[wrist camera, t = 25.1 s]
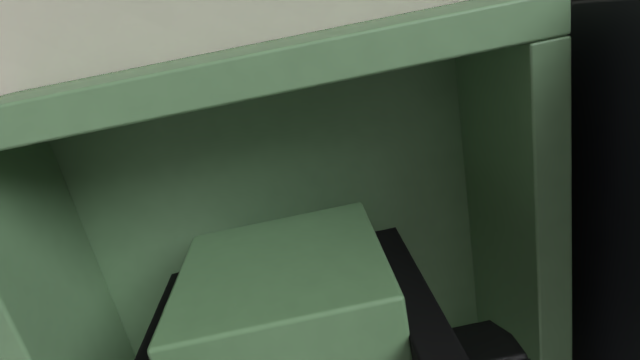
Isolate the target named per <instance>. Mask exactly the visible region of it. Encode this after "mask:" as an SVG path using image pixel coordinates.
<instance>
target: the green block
mask: <svg viewBox="0 0 640 360" xmlns="http://www.w3.org/2000/svg"><path fill="white" fill-rule="evenodd" d="M409 335H410V330H409V324H408V317H407V310H406V304H405V298H404V295H403V293H402V291H401V289H400V286H399V284H398V282H397V280H396V278H395V275H394V273H393V271H392V269H391V267H390V264H389V262H388V260H387V258H386V256H385V253H384V251H383V249H382V247H381V244H380V242H379V240H378V238H377V236H376V233H375V231H374V229H373V227H372V225H371V222H370V220H369V218H368V216H367V214H366V211H365V209H364V207H363V205H362V203H360V202H358V203H353V204H348V205H344V206H339V207H334V208H329V209H324V210H319V211H315V212H310V213H305V214H300V215H295V216H291V217H286V218H281V219H276V220H271V221H267V222H262V223H257V224H252V225H247V226H243V227H238V228H233V229H228V230H223V231H218V232H214V233H209V234H204V235H199V236H195V237H194V238H193V240H192V242H191V245H190V247H189V249H188V252H187V254H186V257H185V259H184V262H183V264H182V266H181V269H180V271H179V274H178V276H177V279H176V281H175V283H174V286H173V288H172V291H171V293H170V295H169V298H168V300H167V303H166V305H165V308H164V310H163V312H162V315H161V317H160V320H159V322H158V325H157V327H156V329H155V332H154V334H153V337H152V339H151V342H150V344H149V346H148V349H147V354H148V357H149V359H150V360H412V354H411V348H410V341H409Z"/></svg>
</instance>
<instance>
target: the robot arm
mask: <svg viewBox="0 0 640 360" xmlns="http://www.w3.org/2000/svg"><path fill="white" fill-rule="evenodd" d="M375 233H376V236H377V238H378V240H379V242H380V244H381V247H382V249H383V251H384V253H385V256H386V258H387V260H388V262H389V264H390V267H391V269H392V271H393V273H394V275H395V278H396V280H397V282H398V284H399V286H400V289H401V291H402V293H403V295H404V298H405V304H406V310H407V317H408V324H409V330H410V335H409V341H410V348H411V354H412V360H531V359H530V358H529V359H528V357H527V354H526V353H525V351H524V350H523V348H522V347H521V346H520V344H519V343H518V342H517V340H516V339H515V338H514V336H513V335H512V334H511V333H509V332H508V331H506V330H504V329H503V328H501V327H500V326H498V325H497V324H495V323H494V322H492V321H490V320H487V321H482V322H478V323H473V324H468V325H463V326H459V327H454V328H451V326H450V324H449V322H448V320H447V319H446V317H445V315H444V313H443V311H442V310H441V308H440V306H439V304H438V302H437V301H436V299H435V297H434V295H433V294H432V292H431V290H430V288H429V286H428V285H427V283H426V281H425V279H424V277H423V276H422V274H421V272H420V270H419V268H418V267H417V265H416V263H415V261H414V259H413V258H412V256H411V254H410V252H409V251H408V249H407V247H406V245H405V243H404V242H403V240H402V238H401V236H400V234H399V233H398V231H397V229H396V227H394V228H389V229H385V230H380V231H375ZM178 274H179V273H174V274H171V277H170V279H169V281H168V284H167V286H166V288H165V290H164V293H163V295H162V297H161V300H160V302H159V304H158V307H157V309H156V311H155V313H154V316H153V318H152V320H151V323H150V325H149V327H148V329H147V332H146V334H145V336H144V339H143V341H142V343H141V346H140V348H139V350H138V352H137V355H136V357H135V359H134V360H150V359H149V357H148V354H147V349H148V346H149V344H150V342H151V339H152V337H153V334H154V332H155V329H156V327H157V325H158V322H159V320H160V317H161V315H162V312H163V310H164V308H165V305H166V303H167V300H168V298H169V295H170V293H171V291H172V288H173V286H174V283H175V281H176V279H177V276H178Z"/></svg>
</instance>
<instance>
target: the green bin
mask: <svg viewBox="0 0 640 360" xmlns="http://www.w3.org/2000/svg"><path fill="white" fill-rule="evenodd" d="M570 32H571V0H469V1H464V2H459V3H454V4H449V5H444V6H439V7H434V8H429V9H424V10H419V11H414V12H409V13H404V14H399V15H395V16H390V17H385V18H380V19H375V20H370V21H365V22H360V23H355V24H350V25H345V26H340V27H335V28H330V29H325V30H320V31H315V32H311V33H306V34H301V35H296V36H291V37H286V38H281V39H276V40H271V41H266V42H261V43H256V44H251V45H246V46H241V47H236V48H231V49H226V50H222V51H217V52H212V53H207V54H202V55H197V56H192V57H187V58H182V59H177V60H172V61H167V62H162V63H157V64H152V65H147V66H142V67H138V68H133V69H128V70H123V71H118V72H113V73H108V74H103V75H98V76H93V77H88V78H83V79H78V80H73V81H68V82H63V83H58V84H53V85H49V86H44V87H39V88H34V89H29V90H24V91H19V92H14V93H10V94H6V95H3V96H0V360H134V359H135V357H136V355H137V352H138V350H139V348H140V346H141V343H142V341H143V339H144V336H145V334H146V332H147V329H148V327H149V325H150V323H151V320H152V318H153V316H154V313H155V311H156V309H157V307H158V304H159V302H160V300H161V297H162V295H163V293H164V290H165V288H166V286H167V284H168V281H169V279H170V277H171V274H174V273H179V271H180V269H181V266H182V264H183V262H184V259H185V257H186V254H187V252H188V249H189V247H190V245H191V242H192V240H193V238H194V237H195V236H199V235H204V234H209V233H214V232H218V231H223V230H228V229H233V228H238V227H243V226H247V225H252V224H257V223H262V222H267V221H271V220H276V219H281V218H286V217H291V216H295V215H300V214H305V213H310V212H315V211H319V210H324V209H329V208H334V207H339V206H344V205H348V204H353V203H358V202H360V203H362V205H363V207H364V209H365V211H366V214H367V216H368V218H369V220H370V222H371V225H372V227H373V229H374V231H380V230H385V229H389V228H394V227H396V229H397V231H398V233H399V234H400V236H401V238H402V240H403V242H404V243H405V245H406V247H407V249H408V251H409V252H410V254H411V256H412V258H413V259H414V261H415V263H416V265H417V267H418V268H419V270H420V272H421V274H422V276H423V277H424V279H425V281H426V283H427V285H428V286H429V288H430V290H431V292H432V294H433V295H434V297H435V299H436V301H437V302H438V304H439V306H440V308H441V310H442V311H443V313H444V315H445V317H446V319H447V320H448V322H449V324H450V326H451V328H454V327H459V326H463V325H468V324H473V323H478V322H482V321H487V320H490V321H492V322H494V323H495V324H497V325H498V326H500V327H501V328H503V329H504V330H506V331H508V332H509V333H511V334H512V335H513V336H514V338H515V339H516V340H517V342H518V343H519V344H520V346H521V347H522V348H523V350H524V351H525V353H526V354H527V357H528V359H529V358H530V359H531V360H572V139H571V37H570V36H568V34H570Z"/></svg>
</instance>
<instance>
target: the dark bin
mask: <svg viewBox="0 0 640 360" xmlns="http://www.w3.org/2000/svg"><path fill="white" fill-rule="evenodd" d="M568 36H570V37H571V139H572V360H640V0H571V32H570V34H568Z"/></svg>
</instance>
